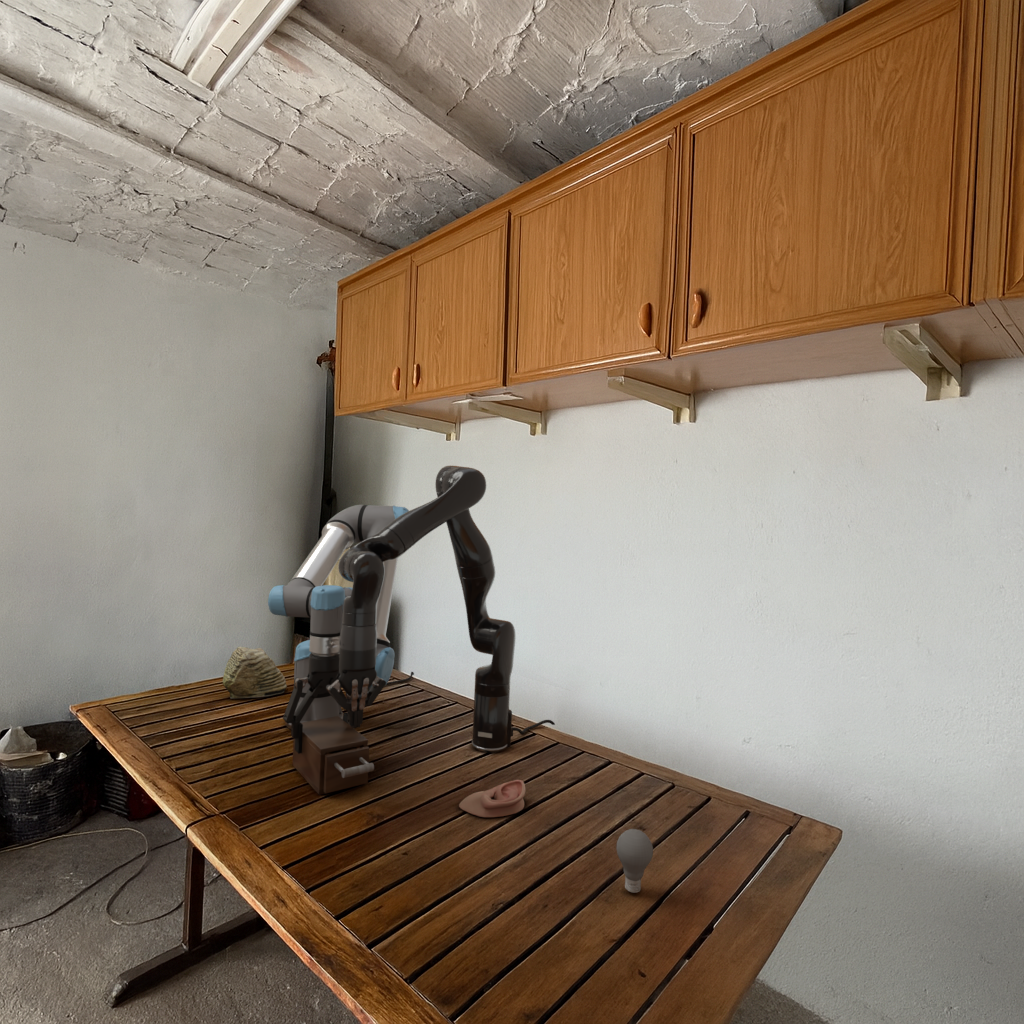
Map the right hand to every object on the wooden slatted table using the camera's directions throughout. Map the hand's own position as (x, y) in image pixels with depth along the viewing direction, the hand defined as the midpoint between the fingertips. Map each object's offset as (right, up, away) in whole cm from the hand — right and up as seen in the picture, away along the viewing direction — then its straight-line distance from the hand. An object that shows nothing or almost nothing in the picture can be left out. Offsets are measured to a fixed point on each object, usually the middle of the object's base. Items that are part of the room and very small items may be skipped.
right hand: (355, 726), depth 133 cm
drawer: (-5, -14, +7) cm, 16 cm away
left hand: (-11, -10, +15) cm, 21 cm away
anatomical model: (+29, -17, 0) cm, 33 cm away
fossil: (-48, -12, +65) cm, 81 cm away
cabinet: (-9, -15, +12) cm, 21 cm away
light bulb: (+53, -18, -28) cm, 63 cm away
